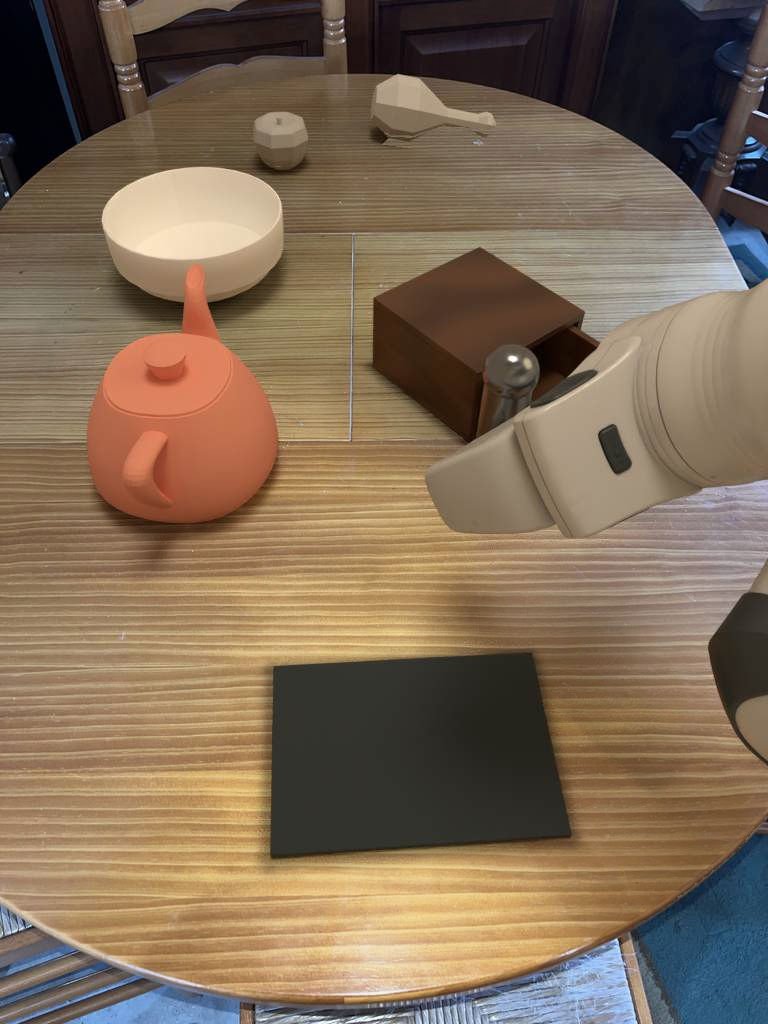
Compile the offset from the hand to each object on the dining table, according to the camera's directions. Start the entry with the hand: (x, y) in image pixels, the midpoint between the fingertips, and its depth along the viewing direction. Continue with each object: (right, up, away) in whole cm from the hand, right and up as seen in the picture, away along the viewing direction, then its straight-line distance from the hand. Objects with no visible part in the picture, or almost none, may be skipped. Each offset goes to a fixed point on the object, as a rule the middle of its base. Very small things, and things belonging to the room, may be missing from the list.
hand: (508, 434), depth 52 cm
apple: (-22, +44, +62) cm, 79 cm away
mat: (-6, -22, +7) cm, 24 cm away
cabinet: (+1, +10, +34) cm, 35 cm away
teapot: (-26, 0, +25) cm, 36 cm away
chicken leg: (-1, +51, +69) cm, 85 cm away
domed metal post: (0, -3, +4) cm, 5 cm away
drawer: (+9, +3, +27) cm, 28 cm away
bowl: (-29, +23, +44) cm, 58 cm away
